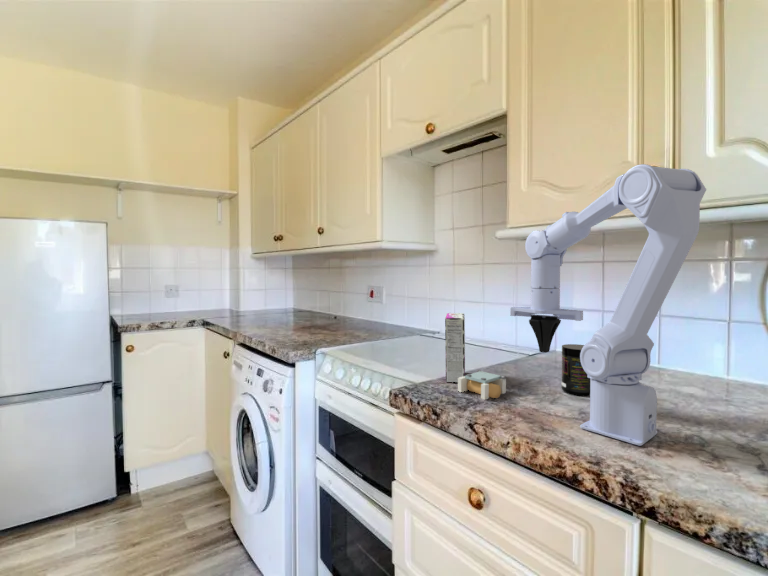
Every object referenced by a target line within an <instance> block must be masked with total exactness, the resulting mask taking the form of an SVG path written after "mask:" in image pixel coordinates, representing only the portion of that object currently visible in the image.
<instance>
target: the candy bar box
mask: <svg viewBox="0 0 768 576" xmlns="http://www.w3.org/2000/svg"><path fill="white" fill-rule="evenodd" d="M444 320H445V321H444V322H445V323H444V324H445V327H444V330H445V333H444V334H445V335H444V336H445V339H444V341H445V382H446V383H447V382H455V383H454V384H458V378H459V377H463V376H465V375H466V338H465V337H466V329H465V327H466V326H465V325H466V324H465V323H466V321H465V320H466V319H465V313H464V312H461V313H459V312H458V313H457V312H454V313H453V312H449V313H446V316H445V318H444Z"/></svg>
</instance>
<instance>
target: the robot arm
mask: <svg viewBox="0 0 768 576" xmlns="http://www.w3.org/2000/svg"><path fill="white" fill-rule="evenodd" d="M706 191H707V188H706V186H705V185H704V183H703V182H702V180H701V179H700V177H699V175H698V173H696V172H695V171H693V170H691V169H689V168H671V167H670V168H669V167H663V166H653V165H651V164H644V163H643V164H637V165H634V166H633V167H631V168H629V169H628V170H627V171H626V172H625V173H622V174H621V175H619V176H618V177H616V178H615V181H614V185H612V186H611V187H610V188H609V189H608V190H607V191H605V192H604V193H603V194H601V195H600V196H599V197H597V198H596V199H595V200H593V201H592V202H591V203H590V204H588V205H587V206H586V207H585V208H583V209H582V210H580V211H579V212H578V211H566V212H564V213H563V214H561V218H559V219H558V220H556V221H555V222H554V223H552V224H549V225H547V226H546V228H545V229H544V230H542V229H541V230H532V231H531V232H530V233H529V235H528V236H527V237H526V239H525V244H524V247H525V248H524V250H525V253H526V254H527V256H528V257H529V258H530V260H531V261H530V265H531V266H530V272H531V273H530V306H529V307H528V306H527V307H526V306H510V307H509V308H510V310H509V311H510V316H511V317H516V316H517V317H529V318H530V319H528V323H529V325H530V327H531V328H532V329H531V330H532V331H533V333H534V336H535V338H536V341H537V345H538V349H539V350H538V351H539V353H549V352H550V350H551V345H552V341H553V338H554V335H555V333H556V331H557V330H558V328H559V326H560V324H561V323H562V320H568V321H569V320H570V321H576V322H581V321H583V320H584V310H578V309H569V308H568V309H566V308H560V306H561V305H560V304H561V303H560V302H561V300H560V299H561V289H560V288H561V267H562V266H563V264H564V263H563V262H564V256H565V254H566V253H567V250H568V248H571V247H573V246H574V245H576V244H578V243H579V242H582V241H583V240H584V239H586V238H587V237H589V236H590V234H591V229H592V227H594V226H596V225H598V224H600V223H602V222H604V221H606V220H607V219H609V218H611V217H614V216H615V215H617V214H618V213H621V212H623V211H624V210H626V209H628V210H629V211H630V213H632V214H633V215H634V216H635V217H636V218H637V220H638V221H640V222H641V223H642V224H643V225H644V227H645V229H646V230H647V233H648V236H647V239H646V240H645V243H644V246H643V248H642V250H641V252H640V255H639V256H638V258H637V261H636V263H635V265H634V267H633V270H632V272H631V274H630V276H629V279H628V280H627V283H626V284H625V285H626V286H625V288H624V289H623V291H622V294H621V296H620V299H619V300H618V303H617V305H616V306H615V309H614V311H613V314H612V316H611V319H610V321H609V322H608V323H606V324H605V325H603V326H602V327H600V328H599V329H598V330H596V331H595V332H594V333H593V334H592V337H591V338H590V340H589V341H588V342H587V343H585V344H583V345H584V346H583V348H582V350H581V353H580V361H581V365H582V367H583V369H584V371H585V372H586V373H587V377H588V378H590V395H589V420H587V421H585V422H583V423H582V424H580V425H579V428H581V429H583V430H586V431H589V432H593V433H595V434H600V435H602V436H606V437H609V438H612V439H615V440H618V441H622V442H626V443H629V444H631V445H632V444H633V445H635V446H640V447H641V446H643V445H644V444H646V443H647V442H648V441H650V440H651V439H652V438H654V437H655V436H656V435H658V430H657V416H658V415H657V412H658V411H657V409H658V408H657V406H658V404H657V403H658V398H657V396H658V395H657V391H656V389H655V387H652V386H650V385H646V384H644V383H641V382H640V381H642V380H643V374H645V373H646V372H647V371H648V370H649V368H650V366H651V354H652V353H651V352H652V350H653V347H654V346H655V342H654V341H653V340H652V338H651V337H649V335H648V333H649V331H650V329H651V327H652V325H653V323H654V322H655V319H657V318H656V317H657V316H658V314H659V312H660V309H661V307H662V306H663V303H664V302H665V299H666V297H667V295H668V293H669V292H670V290H671V288H672V286H673V284H674V281H675V280H676V278H677V276H678V274H679V273H680V271H681V268H682V266H683V264H684V262H685V260H686V258H687V256H688V254H689V253H690V250H691V248H692V247H693V246H694V245H693V244H694V243H695V241H696V239H697V237H698V234H699V231H700V210H701V207H700V206H701V202H702V200H703V198H704V196H705V193H706Z"/></svg>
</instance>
